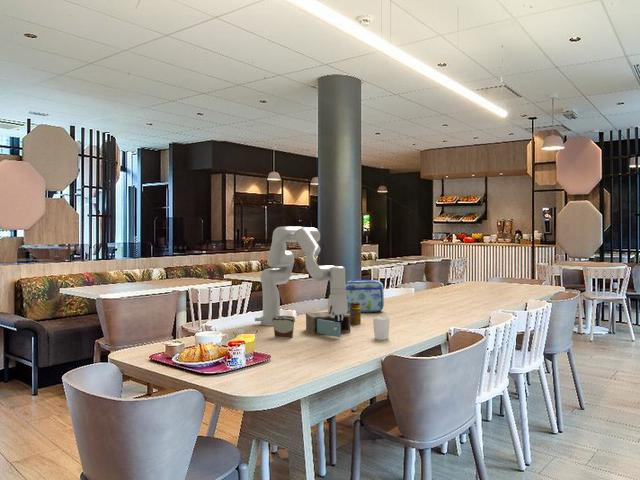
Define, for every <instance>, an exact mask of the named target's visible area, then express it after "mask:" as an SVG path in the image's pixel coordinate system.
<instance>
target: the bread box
mask: <svg viewBox="0 0 640 480" xmlns="http://www.w3.org/2000/svg"><path fill="white" fill-rule="evenodd" d="M330 315H331V314H328V311H317V312H306V313H305V331H307V332H309V334H311V335H312V336H317V335H321V334H320V333H317V319H321V320H327V321H333V322H335V320H334V318H331V317H330ZM344 333H346V334H347V333H351V325H350V313H347V315H346V316H344V317H343V320H342V329H341V334H344Z"/></svg>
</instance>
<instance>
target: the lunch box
mask: <svg viewBox="0 0 640 480" xmlns="http://www.w3.org/2000/svg"><path fill="white" fill-rule="evenodd" d="M345 285H346V287H345V288H346V296H347V303H348V311H347V313H350V307H351V303H352V302H359V303H360V308H361V313H378V312H381V311H383V309H384V306H385V299H384V298H385V294H384V293H385V292H384V284H383V283H382V282H381V280H374V279H372V280H371V279H355V278H354V279H352V280H349V281H347V282H346V281H345Z"/></svg>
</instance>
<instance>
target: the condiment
mask: <svg viewBox="0 0 640 480" xmlns="http://www.w3.org/2000/svg"><path fill="white" fill-rule="evenodd" d="M349 315H350V326H352V327H353V326H359V325H363V323H362V320H361V319H362V312H361V308H360V303H359V302H352V303H351V307H350V312H349Z"/></svg>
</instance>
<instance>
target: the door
mask: <svg viewBox="0 0 640 480" xmlns="http://www.w3.org/2000/svg"><path fill="white" fill-rule="evenodd" d="M317 333H320V334H319V335H324V336H325V335H326V336H332V337H336V338H342V337H341V334H342V333H341V327H340V323H339V322H333V321H327V320H321V319H317Z"/></svg>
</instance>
